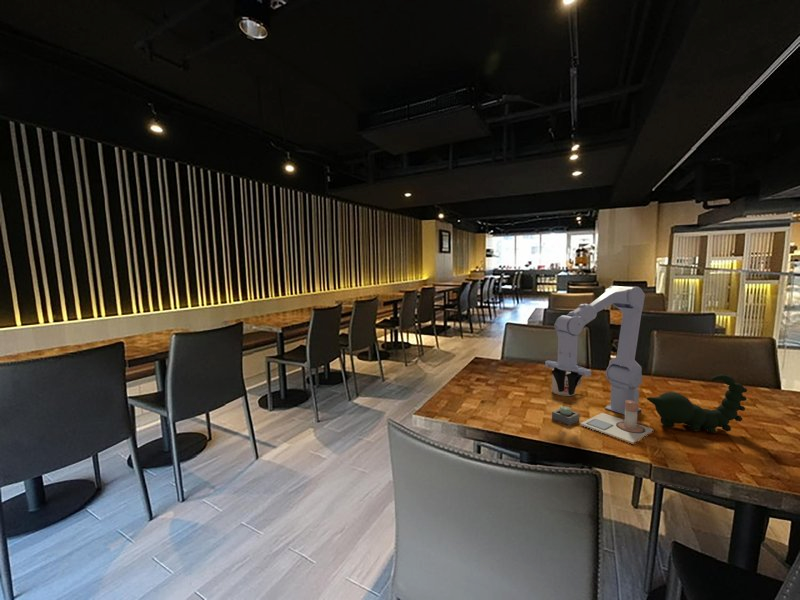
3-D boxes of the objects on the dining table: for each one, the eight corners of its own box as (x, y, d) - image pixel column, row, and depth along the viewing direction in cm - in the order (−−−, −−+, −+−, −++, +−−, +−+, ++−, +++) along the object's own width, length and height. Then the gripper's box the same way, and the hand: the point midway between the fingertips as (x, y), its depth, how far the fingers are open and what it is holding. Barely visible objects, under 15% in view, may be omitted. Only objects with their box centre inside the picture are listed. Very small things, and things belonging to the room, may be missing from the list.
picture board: (602, 414, 117) (602, 412, 117) (653, 431, 105) (653, 428, 105) (580, 425, 110) (580, 422, 110) (632, 445, 97) (632, 441, 97)
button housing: (561, 414, 118) (562, 407, 118) (579, 421, 113) (579, 413, 113) (551, 419, 115) (552, 412, 114) (569, 425, 110) (569, 418, 109)
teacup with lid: (557, 396, 135) (558, 367, 134) (547, 389, 144) (547, 361, 143) (587, 396, 135) (588, 367, 134) (575, 388, 144) (576, 361, 143)
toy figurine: (723, 430, 109) (636, 416, 114) (734, 372, 107) (644, 361, 112) (746, 444, 100) (650, 429, 105) (758, 382, 98) (659, 370, 103)
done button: (563, 411, 116) (563, 405, 116) (573, 414, 113) (574, 409, 113) (557, 413, 114) (557, 408, 114) (567, 417, 111) (568, 411, 111)
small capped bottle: (626, 423, 108) (628, 399, 108) (639, 427, 106) (640, 402, 105) (621, 426, 107) (623, 401, 106) (634, 430, 104) (635, 405, 103)
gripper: (540, 349, 116) (539, 388, 117) (583, 358, 104) (581, 402, 105) (552, 347, 120) (551, 384, 121) (595, 355, 108) (593, 397, 109)
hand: (566, 392), depth 113 cm, fingers open, 3 cm apart
